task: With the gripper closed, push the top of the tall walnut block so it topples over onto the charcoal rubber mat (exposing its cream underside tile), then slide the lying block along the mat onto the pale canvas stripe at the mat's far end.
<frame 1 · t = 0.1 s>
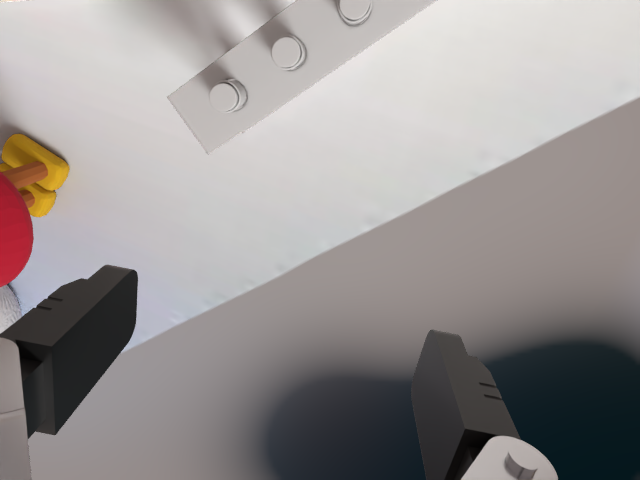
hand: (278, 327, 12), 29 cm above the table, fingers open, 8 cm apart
test tube rack: (352, 23, 36), on the table
toy: (52, 184, 42), on the table
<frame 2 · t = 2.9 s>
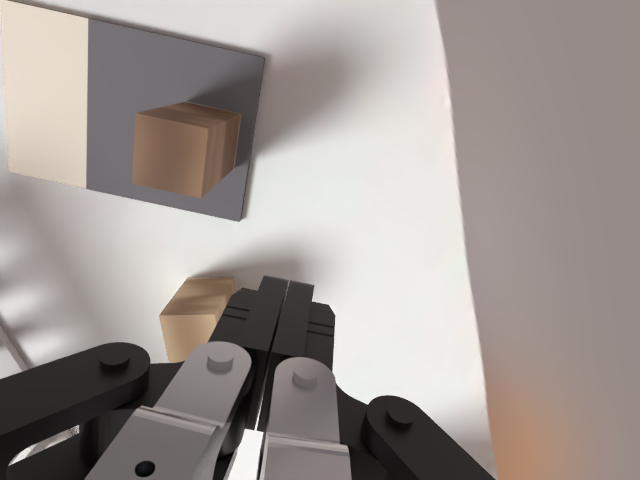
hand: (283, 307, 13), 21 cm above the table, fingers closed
mat: (130, 117, 33), on the table
oak block: (214, 298, 38), on the table
walnut block: (210, 135, 32), resting on mat
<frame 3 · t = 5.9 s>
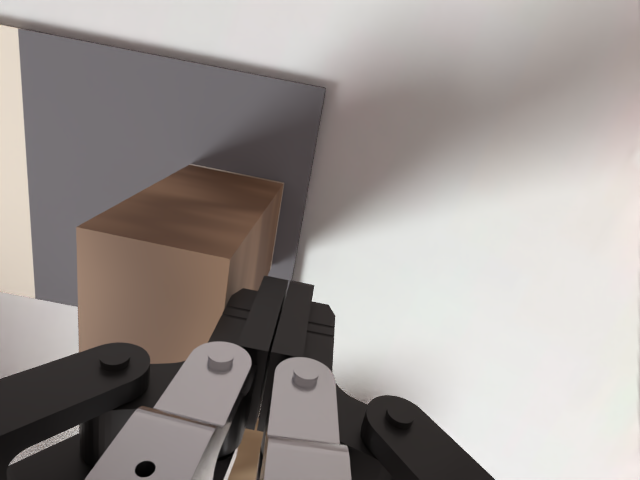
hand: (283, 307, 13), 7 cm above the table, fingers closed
mat: (100, 189, 20), on the table
oak block: (240, 446, 25), on the table
walnut block: (232, 217, 19), resting on mat, touching gripper
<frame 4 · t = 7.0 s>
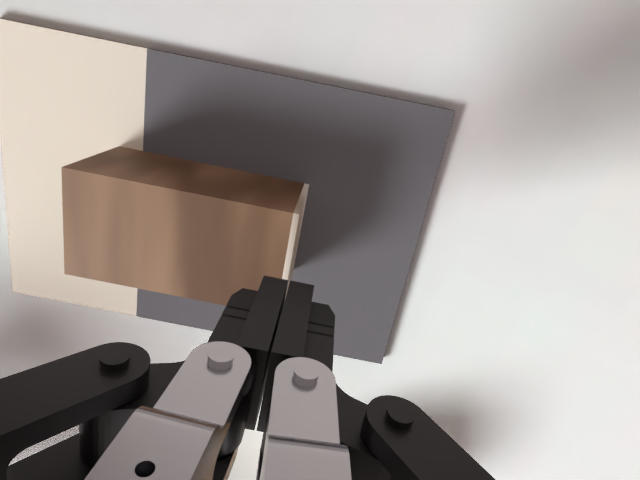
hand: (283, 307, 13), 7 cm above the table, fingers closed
mat: (212, 208, 20), on the table
walnut block: (295, 246, 18), point 2 cm above the table, tilted 90°, touching mat
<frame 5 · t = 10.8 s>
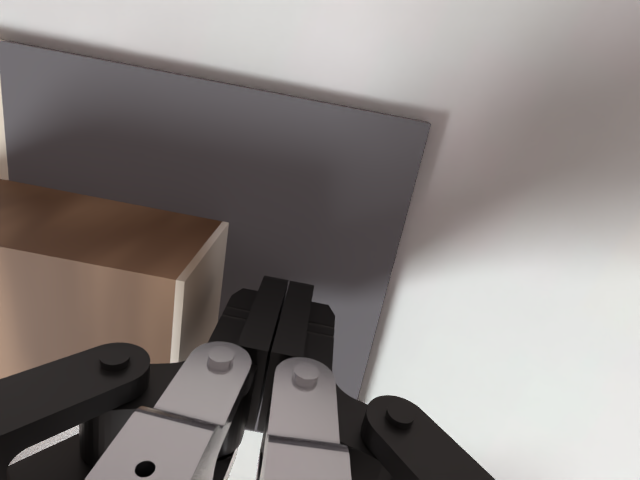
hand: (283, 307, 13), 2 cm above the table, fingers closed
mat: (112, 254, 15), on the table
walnut block: (203, 311, 13), point 2 cm above the table, tilted 90°, touching gripper, mat
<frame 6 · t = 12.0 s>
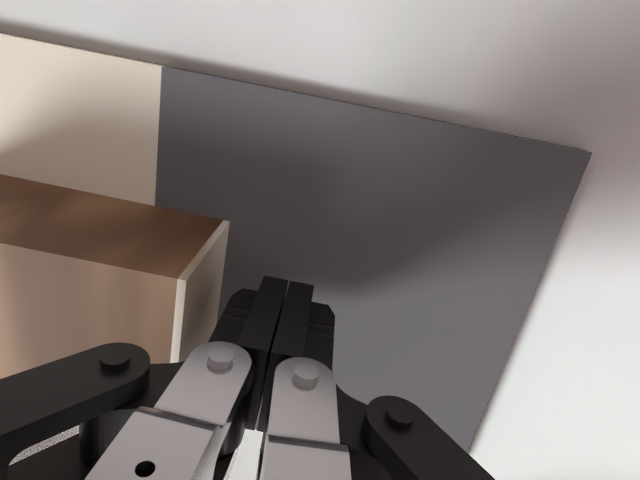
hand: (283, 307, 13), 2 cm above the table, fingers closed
mat: (246, 276, 15), on the table
walnut block: (204, 310, 13), point 2 cm above the table, tilted 90°, touching gripper
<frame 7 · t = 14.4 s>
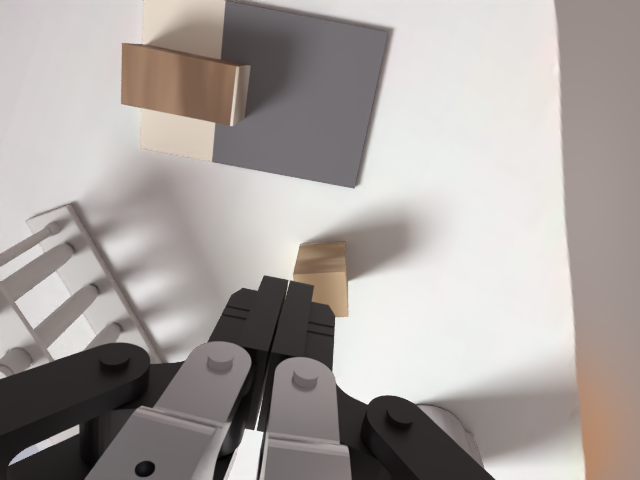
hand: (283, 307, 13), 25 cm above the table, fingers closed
mat: (257, 93, 35), on the table
test tube rack: (119, 323, 45), on the table
oak block: (324, 263, 41), on the table
walnut block: (242, 94, 33), point 2 cm above the table, tilted 90°, touching mat
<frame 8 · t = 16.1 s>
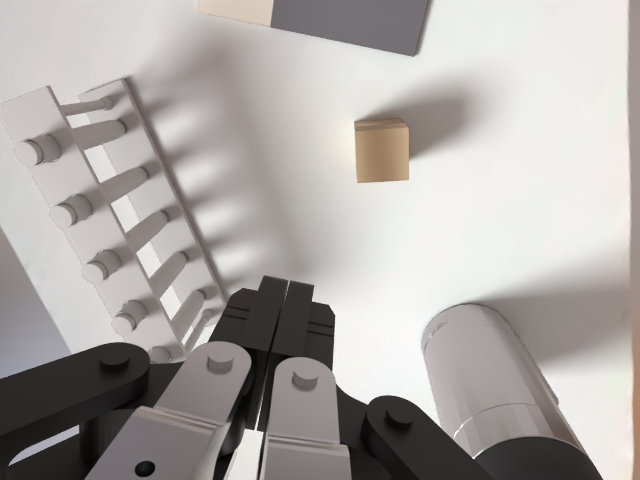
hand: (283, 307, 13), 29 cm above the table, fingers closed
test tube rack: (165, 214, 44), on the table
oak block: (377, 143, 40), on the table
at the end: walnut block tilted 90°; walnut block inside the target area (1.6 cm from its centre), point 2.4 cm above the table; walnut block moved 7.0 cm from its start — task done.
